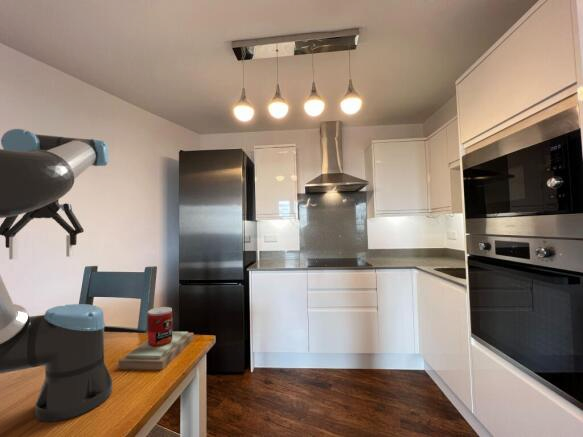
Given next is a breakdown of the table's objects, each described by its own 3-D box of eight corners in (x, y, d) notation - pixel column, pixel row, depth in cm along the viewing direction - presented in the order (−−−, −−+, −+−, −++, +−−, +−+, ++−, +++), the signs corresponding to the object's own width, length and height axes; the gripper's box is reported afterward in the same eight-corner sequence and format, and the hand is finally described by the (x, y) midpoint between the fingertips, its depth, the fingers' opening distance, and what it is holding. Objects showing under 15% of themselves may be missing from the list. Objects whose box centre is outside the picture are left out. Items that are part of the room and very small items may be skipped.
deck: (162, 369, 83) (162, 358, 83) (118, 369, 84) (118, 357, 84) (193, 339, 105) (193, 330, 105) (158, 339, 106) (158, 330, 106)
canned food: (157, 349, 89) (157, 315, 89) (142, 344, 93) (142, 311, 93) (177, 340, 96) (177, 308, 96) (162, 336, 100) (162, 305, 100)
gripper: (94, 190, 91) (95, 254, 91) (-3, 188, 83) (-3, 258, 82) (86, 187, 84) (87, 256, 84) (-21, 184, 76) (-22, 261, 75)
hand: (42, 257), depth 83 cm, fingers open, 13 cm apart
